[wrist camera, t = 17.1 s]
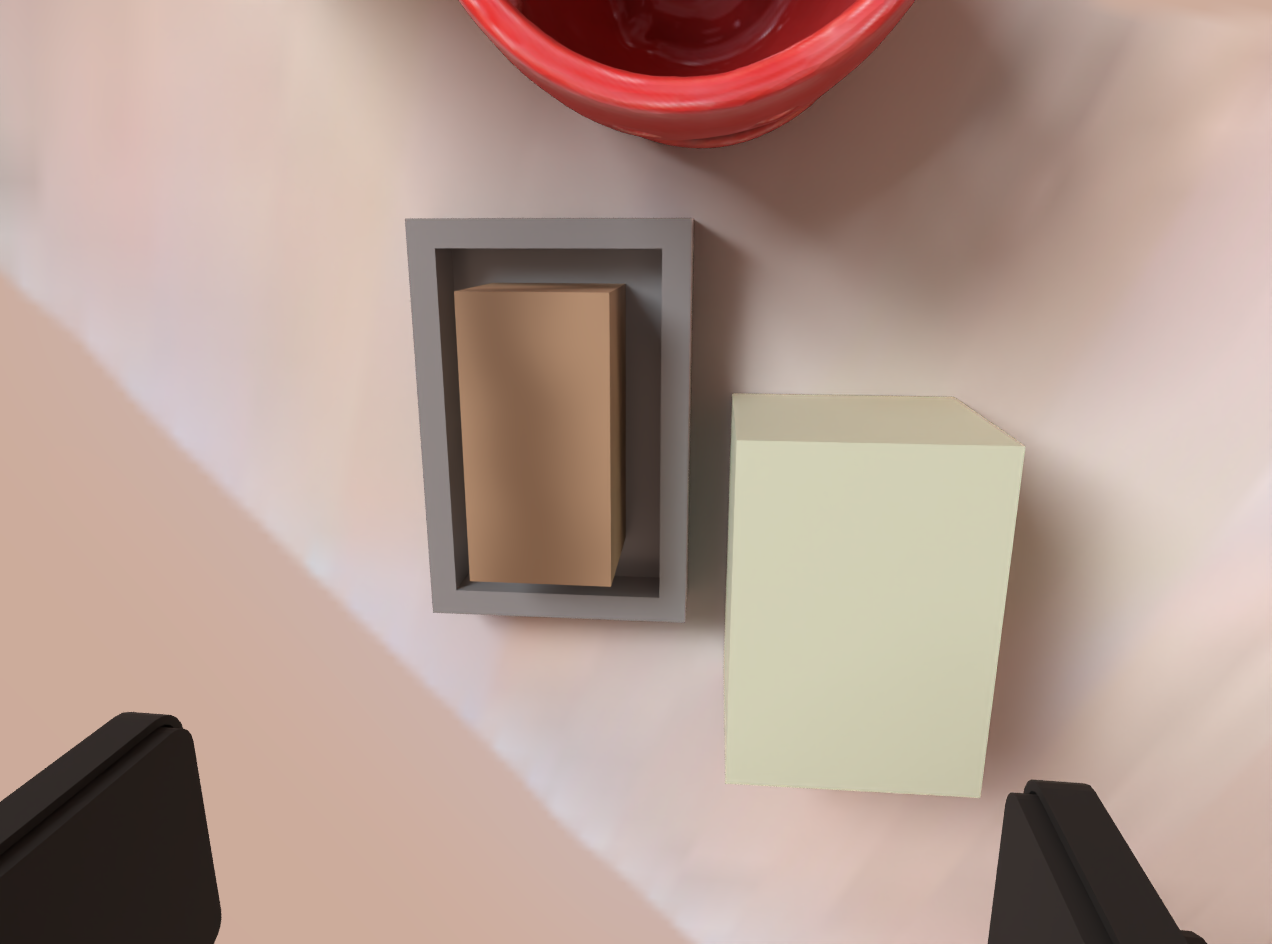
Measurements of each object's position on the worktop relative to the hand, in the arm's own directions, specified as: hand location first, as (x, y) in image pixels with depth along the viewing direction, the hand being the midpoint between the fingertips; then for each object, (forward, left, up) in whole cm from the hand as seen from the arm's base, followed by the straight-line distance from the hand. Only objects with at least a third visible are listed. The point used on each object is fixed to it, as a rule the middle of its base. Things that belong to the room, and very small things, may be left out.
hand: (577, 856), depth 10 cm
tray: (+4, 0, -25) cm, 25 cm away
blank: (+4, 0, -24) cm, 24 cm away
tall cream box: (-6, +5, -25) cm, 26 cm away
